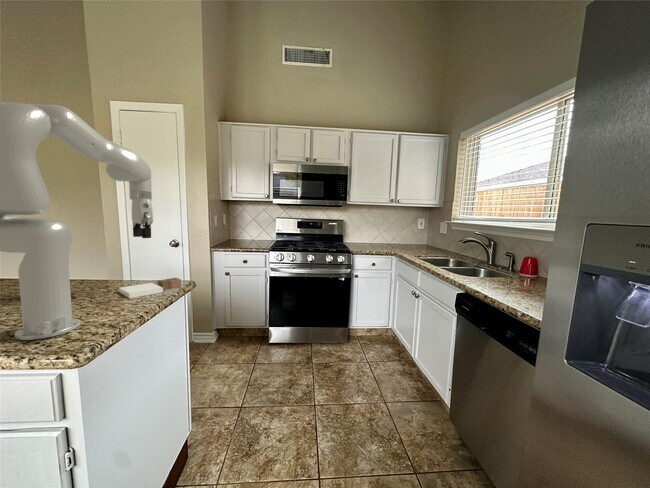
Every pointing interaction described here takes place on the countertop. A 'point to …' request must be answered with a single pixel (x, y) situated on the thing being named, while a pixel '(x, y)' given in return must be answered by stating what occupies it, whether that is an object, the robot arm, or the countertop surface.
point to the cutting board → (140, 290)
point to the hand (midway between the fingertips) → (142, 237)
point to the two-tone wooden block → (170, 283)
